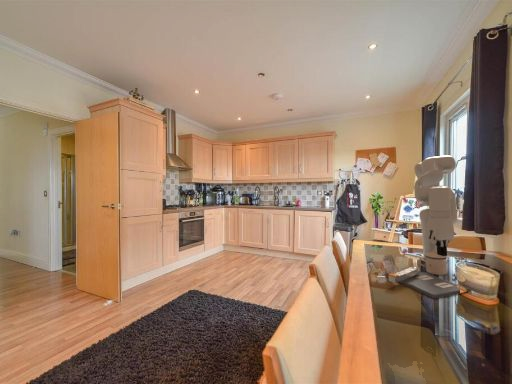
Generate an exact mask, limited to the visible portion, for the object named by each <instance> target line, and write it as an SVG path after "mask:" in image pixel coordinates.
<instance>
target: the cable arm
mask: <svg viewBox="0 0 512 384" xmlns="http://www.w3.org/2000/svg"><path fill="white" fill-rule="evenodd" d="M420 272H421V268H420V267H419V266H417V265H416V266H415V265H414V266H413V265H412V266H410V267H409V268H405V269H403V270H401V271H398V272H395V273H389V274H388V281H389V282H391V283H394V284H397V283H400V282H399V281H402V280H404V279H407V278H409V277H411V276H414V275H416V274H420Z"/></svg>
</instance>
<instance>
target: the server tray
mask: <svg viewBox="0 0 512 384" xmlns="http://www.w3.org/2000/svg"><path fill="white" fill-rule="evenodd" d="M398 283H400V284H402V285H404V286H406V287H408V288H411V289H413V290H415V291H417V292H419V293H422V294H424V295H426V296H428V297H430V298H432V299H440V298H443V297H449V296H450V297H451V296H454V295H460V294H459V293H460V289H459V288H458V287H457V285H458V284H456V283H454V282H452V281H448V280H445V279H443V278H440V277H437V276H435V275H434V274H431V273H428V272H425V271H420V274H416V275H414V276H411V277H409V278H407V279H404V280H402V281H399V282H398Z"/></svg>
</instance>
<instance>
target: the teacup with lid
mask: <svg viewBox="0 0 512 384" xmlns="http://www.w3.org/2000/svg"><path fill="white" fill-rule="evenodd" d="M421 259H425V261H426V262H425V264H423V263H421ZM446 260H447V257H446V256H441V255H438V254H437V250H433V252H430V253H426V254H425V257H422V256H420V257H419V258H418V260H417V261H418V263H419V265H420V266H421V267H423V268H424V267H425V271H426V273H428V274H430V275H436V276H437V275H438V276H444V275H446V274H447V273H448V270H447V269H448V268H447V263H446Z"/></svg>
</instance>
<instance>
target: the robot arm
mask: <svg viewBox="0 0 512 384" xmlns="http://www.w3.org/2000/svg"><path fill="white" fill-rule="evenodd" d="M456 163H457V161H456V160H455V158H454V157H453V156H452V155H442V156H441V155H440V156H432V157H427V158H425V159H423V160H422V162H419V163H416V164H415V165H414V174H415V177H416V178H417V179H416V180H415V181H414V185H413V190H414V192H413V193H414V194H413V195H414V198H415V200H416V201H417V202H420V203H422V205H423V206H425V207H428V208H424V209H421V210H420V212H419V215H418V216H419V220H420V225H421V232H422V234H421V236H422V251H423V252H422V253H423V256H421V257H425V254H426V253H430V252H433V250H437V254H438V255H441V256H446V257H450V254H449V253H448V246H449V243H451V242H452V241H453V239H454V238H455V229H454V225H456V224H457V222H458V210H457V209H458V208H457V199H456V194H455V193H454V191H453V190H452V188H450V187H449V186H447V185H439V183H440V182H441V181H442V180H443V179H444V176H445V175H446V176H447V175H451V174H452V173H453V172H454V171H455V169H456V167H457V166H456V165H457V164H456ZM420 261H422V262H425V263H426V261H425V259H420ZM447 263H448V261H447V259H446V264H447Z"/></svg>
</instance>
